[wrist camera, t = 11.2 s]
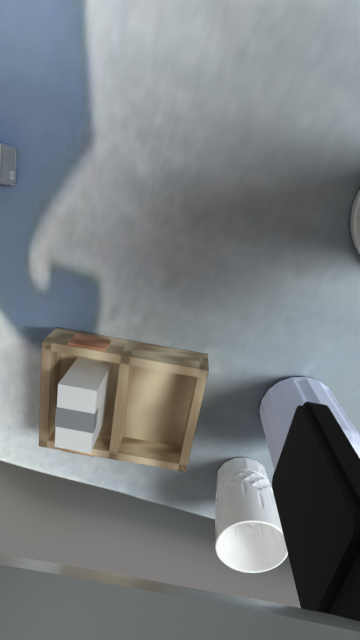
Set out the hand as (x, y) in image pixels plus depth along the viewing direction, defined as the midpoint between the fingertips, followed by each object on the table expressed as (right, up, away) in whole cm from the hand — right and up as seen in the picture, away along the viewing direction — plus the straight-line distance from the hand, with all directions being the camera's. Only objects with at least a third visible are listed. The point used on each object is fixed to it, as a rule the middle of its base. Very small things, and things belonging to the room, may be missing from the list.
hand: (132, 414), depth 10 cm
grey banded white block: (-9, -6, +32) cm, 34 cm away
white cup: (+10, -18, +37) cm, 42 cm away
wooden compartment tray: (-5, -6, +33) cm, 34 cm away
